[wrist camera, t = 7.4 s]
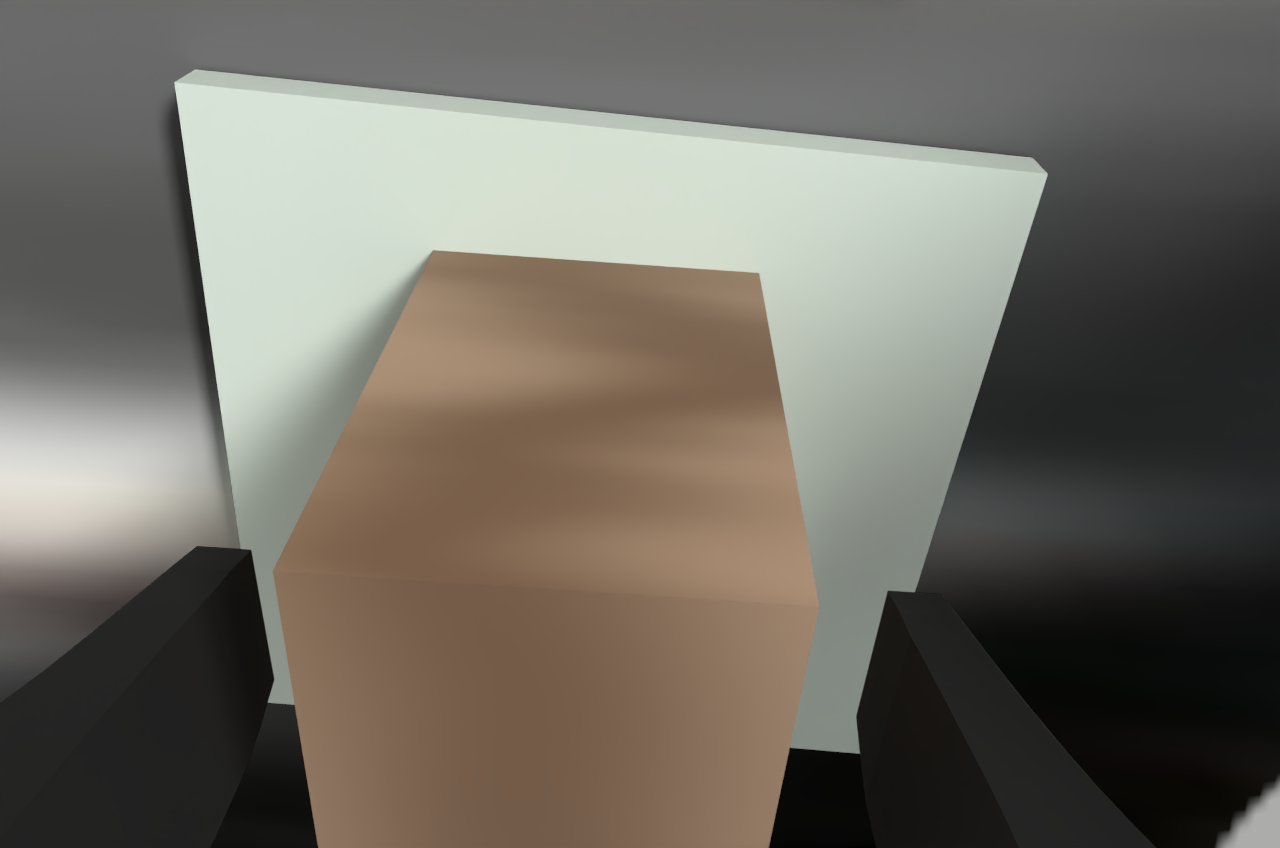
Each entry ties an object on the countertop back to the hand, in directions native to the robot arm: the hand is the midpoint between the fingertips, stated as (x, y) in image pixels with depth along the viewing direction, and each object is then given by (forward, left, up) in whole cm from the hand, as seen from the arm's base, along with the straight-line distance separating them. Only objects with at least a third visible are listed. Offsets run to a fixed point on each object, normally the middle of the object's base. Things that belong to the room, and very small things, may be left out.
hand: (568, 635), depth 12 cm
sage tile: (0, 0, -4) cm, 4 cm away
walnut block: (0, 0, -3) cm, 3 cm away
